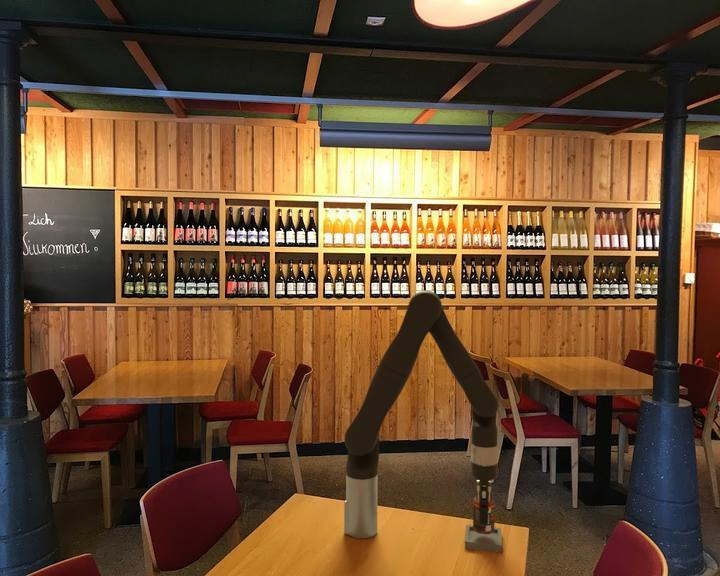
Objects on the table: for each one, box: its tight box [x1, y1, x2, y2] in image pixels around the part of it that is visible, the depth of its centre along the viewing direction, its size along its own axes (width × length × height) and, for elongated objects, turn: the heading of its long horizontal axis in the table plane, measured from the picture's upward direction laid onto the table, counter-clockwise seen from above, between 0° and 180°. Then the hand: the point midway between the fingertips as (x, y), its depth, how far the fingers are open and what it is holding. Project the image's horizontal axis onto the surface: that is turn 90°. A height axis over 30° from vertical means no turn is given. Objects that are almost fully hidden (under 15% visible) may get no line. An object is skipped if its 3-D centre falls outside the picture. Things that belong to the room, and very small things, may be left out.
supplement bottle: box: [472, 489, 496, 534], centre depth 157 cm, size 6×6×11 cm
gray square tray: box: [464, 524, 503, 553], centre depth 158 cm, size 10×10×2 cm
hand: (483, 517), depth 157 cm, fingers closed on supplement bottle, 6 cm apart
